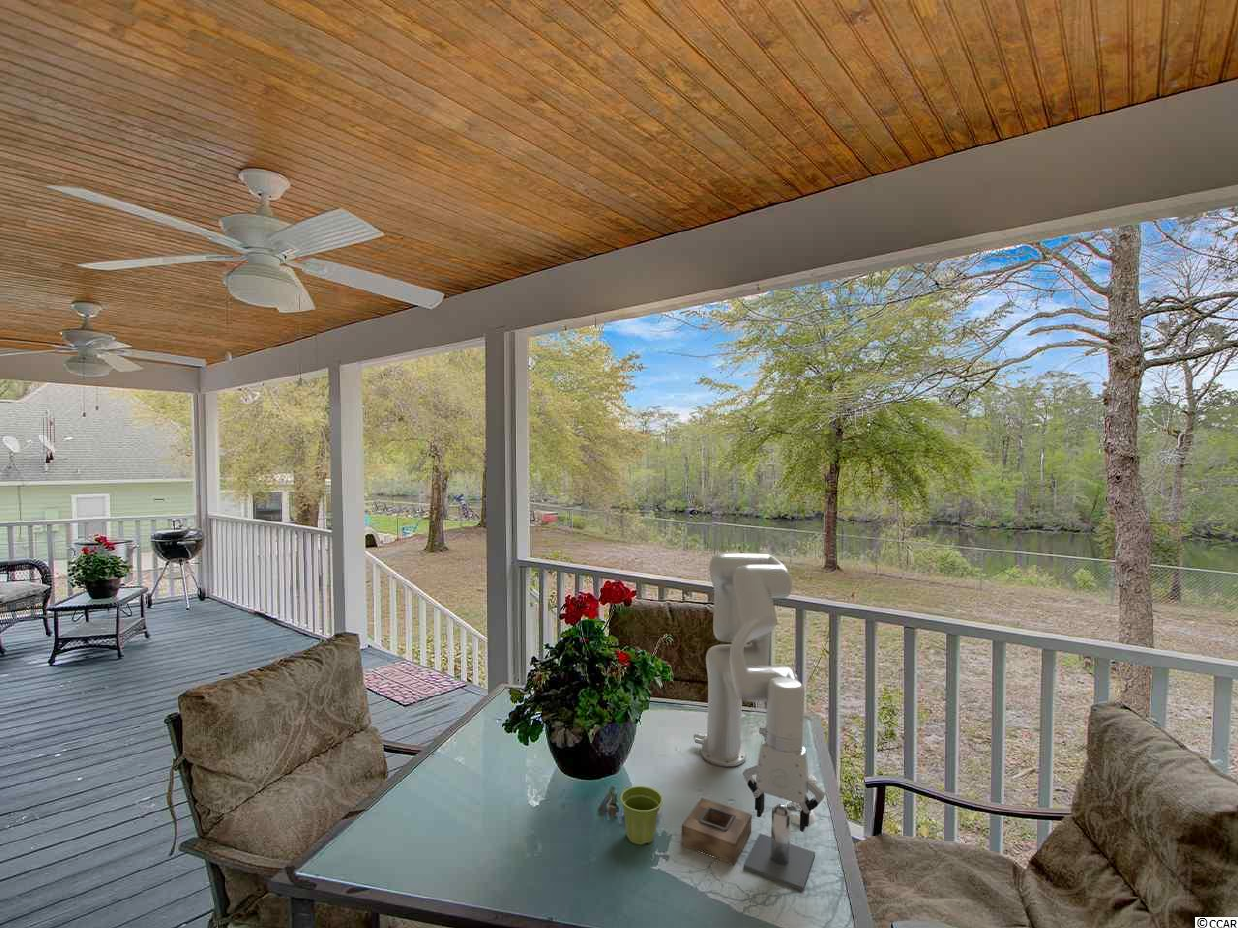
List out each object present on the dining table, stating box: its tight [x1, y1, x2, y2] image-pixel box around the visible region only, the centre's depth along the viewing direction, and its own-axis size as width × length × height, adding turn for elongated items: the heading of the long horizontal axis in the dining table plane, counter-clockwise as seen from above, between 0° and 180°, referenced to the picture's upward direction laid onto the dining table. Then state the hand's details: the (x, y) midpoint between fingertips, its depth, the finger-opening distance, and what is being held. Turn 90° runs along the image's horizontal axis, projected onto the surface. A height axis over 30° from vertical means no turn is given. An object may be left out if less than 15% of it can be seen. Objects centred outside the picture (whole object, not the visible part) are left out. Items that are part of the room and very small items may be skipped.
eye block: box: [680, 797, 753, 866], centre depth 131 cm, size 12×12×5 cm
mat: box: [743, 833, 816, 892], centre depth 124 cm, size 12×12×1 cm
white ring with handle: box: [784, 774, 818, 826], centre depth 140 cm, size 8×12×7 cm
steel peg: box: [770, 803, 792, 865], centre depth 124 cm, size 4×4×11 cm
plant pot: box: [620, 785, 663, 845], centre depth 131 cm, size 9×9×9 cm
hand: (781, 820), depth 124 cm, fingers open, 8 cm apart
